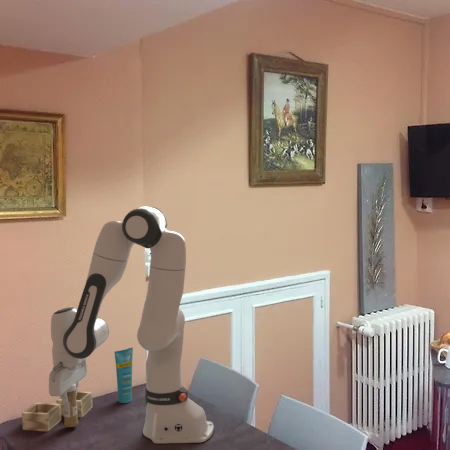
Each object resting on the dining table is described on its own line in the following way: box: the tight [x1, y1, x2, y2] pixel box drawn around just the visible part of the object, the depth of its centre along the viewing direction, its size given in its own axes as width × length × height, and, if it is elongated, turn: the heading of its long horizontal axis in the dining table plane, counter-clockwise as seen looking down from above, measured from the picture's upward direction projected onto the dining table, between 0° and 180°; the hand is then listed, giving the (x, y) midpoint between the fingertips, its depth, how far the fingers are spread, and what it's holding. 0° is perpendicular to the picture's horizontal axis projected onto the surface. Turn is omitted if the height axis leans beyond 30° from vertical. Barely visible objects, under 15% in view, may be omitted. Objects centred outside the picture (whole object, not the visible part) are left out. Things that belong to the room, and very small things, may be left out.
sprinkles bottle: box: [63, 384, 79, 428], centre depth 191 cm, size 5×5×13 cm
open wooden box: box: [56, 390, 93, 419], centre depth 205 cm, size 9×9×6 cm
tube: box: [113, 347, 134, 404], centre depth 214 cm, size 7×5×19 cm, turn 134°
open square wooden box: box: [21, 402, 62, 432], centre depth 195 cm, size 9×9×6 cm
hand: (69, 399), depth 191 cm, fingers closed on sprinkles bottle, 4 cm apart
